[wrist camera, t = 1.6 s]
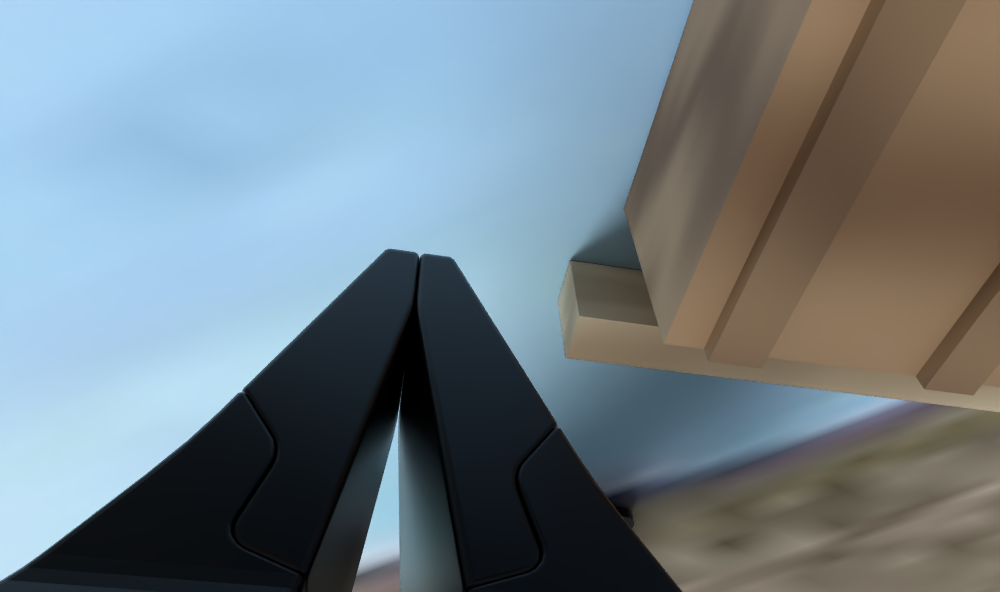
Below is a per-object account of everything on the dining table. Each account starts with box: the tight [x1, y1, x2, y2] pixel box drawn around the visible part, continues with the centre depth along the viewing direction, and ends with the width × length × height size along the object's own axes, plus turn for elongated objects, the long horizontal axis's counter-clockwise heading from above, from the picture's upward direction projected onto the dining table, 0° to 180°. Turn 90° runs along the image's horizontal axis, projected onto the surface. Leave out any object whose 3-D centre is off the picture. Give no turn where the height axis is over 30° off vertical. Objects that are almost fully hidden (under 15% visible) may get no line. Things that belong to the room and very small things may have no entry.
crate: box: [624, 0, 1000, 395], centre depth 16 cm, size 8×8×6 cm
